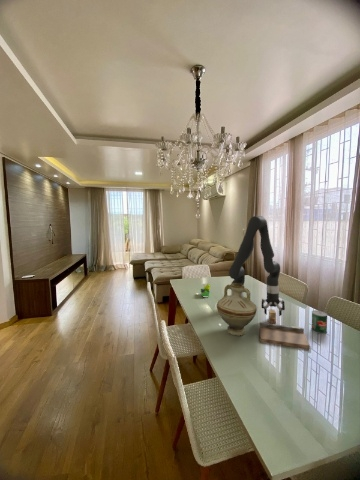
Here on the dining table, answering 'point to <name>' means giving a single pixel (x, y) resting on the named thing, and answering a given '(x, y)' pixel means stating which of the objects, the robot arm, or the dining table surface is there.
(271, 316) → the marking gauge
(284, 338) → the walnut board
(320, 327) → the canned tomato
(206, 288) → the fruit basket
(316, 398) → the dining table surface
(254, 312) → the amphora
